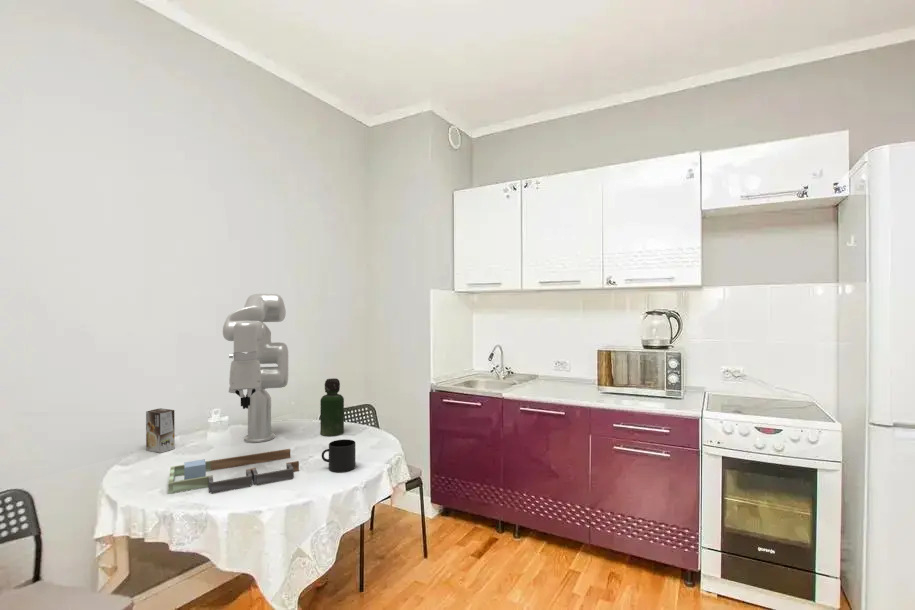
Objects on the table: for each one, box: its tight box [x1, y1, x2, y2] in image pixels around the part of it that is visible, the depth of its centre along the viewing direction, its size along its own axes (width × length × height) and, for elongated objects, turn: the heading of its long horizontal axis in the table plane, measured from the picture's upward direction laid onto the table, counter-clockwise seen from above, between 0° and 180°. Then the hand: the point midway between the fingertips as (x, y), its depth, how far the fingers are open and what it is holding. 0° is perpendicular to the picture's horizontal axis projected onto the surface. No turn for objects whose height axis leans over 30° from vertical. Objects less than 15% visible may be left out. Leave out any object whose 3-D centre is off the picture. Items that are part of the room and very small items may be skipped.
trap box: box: [167, 448, 300, 495], centre depth 156 cm, size 24×39×3 cm, turn 120°
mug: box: [321, 439, 356, 473], centre depth 164 cm, size 9×12×9 cm
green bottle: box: [319, 377, 345, 437], centre depth 209 cm, size 10×10×25 cm
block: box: [183, 459, 207, 480], centre depth 152 cm, size 6×6×6 cm
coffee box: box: [145, 408, 176, 454], centre depth 186 cm, size 9×6×16 cm
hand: (245, 407), depth 162 cm, fingers closed
